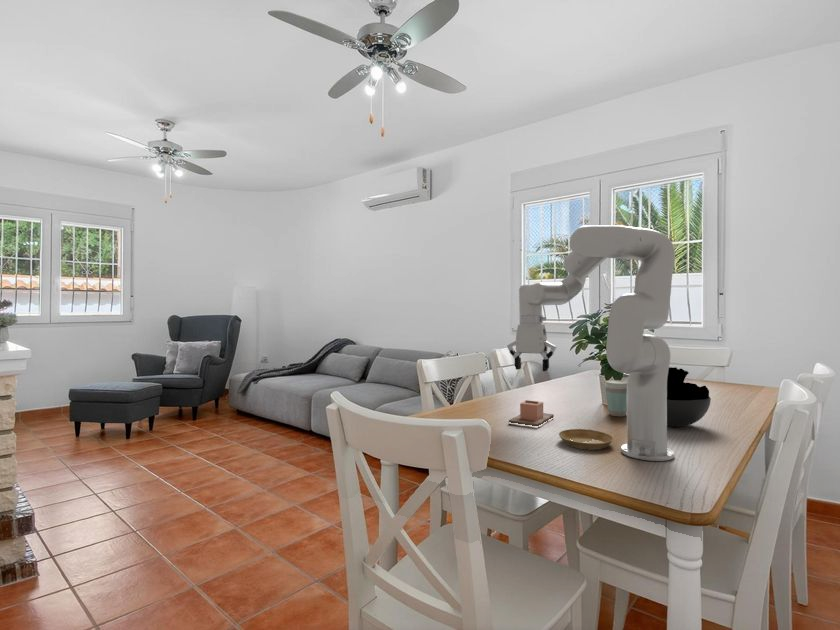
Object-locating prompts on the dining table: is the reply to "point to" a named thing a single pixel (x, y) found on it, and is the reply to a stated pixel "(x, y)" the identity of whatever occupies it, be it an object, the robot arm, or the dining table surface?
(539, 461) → the dining table surface
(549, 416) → the base
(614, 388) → the coffee cup
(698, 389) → the coal bowl
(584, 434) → the plant saucer
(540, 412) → the salmon pink cube
